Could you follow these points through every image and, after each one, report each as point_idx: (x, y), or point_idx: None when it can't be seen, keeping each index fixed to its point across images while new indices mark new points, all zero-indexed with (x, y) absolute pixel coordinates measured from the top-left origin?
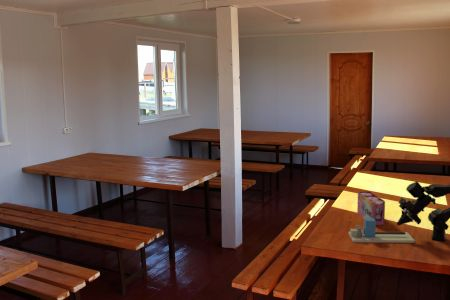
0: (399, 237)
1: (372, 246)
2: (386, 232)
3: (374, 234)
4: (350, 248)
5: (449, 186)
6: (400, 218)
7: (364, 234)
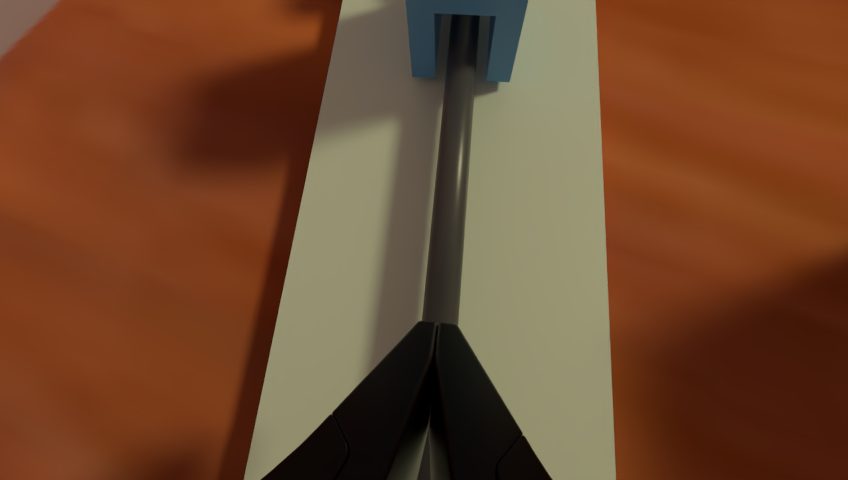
0: None
1: (239, 31)
2: (443, 193)
3: (412, 51)
4: None
5: None
6: (457, 429)
7: None
